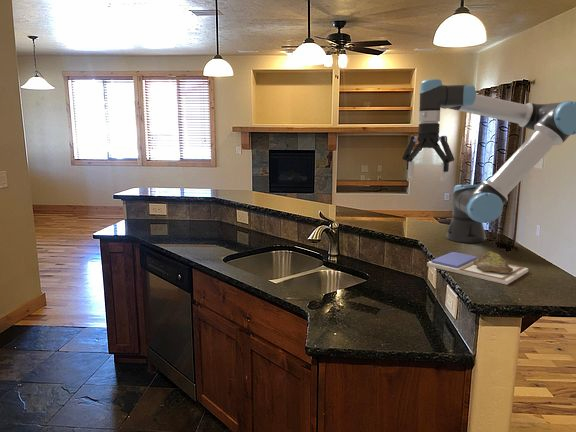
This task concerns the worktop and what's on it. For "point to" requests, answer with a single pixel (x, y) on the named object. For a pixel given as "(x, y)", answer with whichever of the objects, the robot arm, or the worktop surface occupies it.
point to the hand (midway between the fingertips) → (426, 179)
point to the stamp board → (474, 268)
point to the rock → (492, 263)
